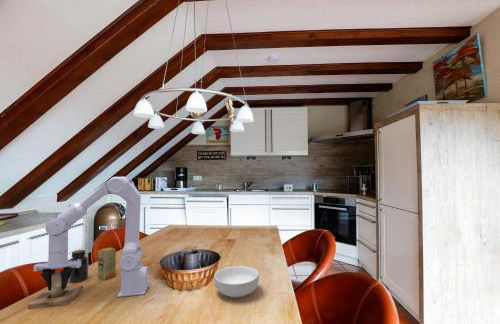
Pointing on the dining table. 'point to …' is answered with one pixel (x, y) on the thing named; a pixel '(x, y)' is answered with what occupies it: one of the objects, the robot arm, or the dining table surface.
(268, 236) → the dining table surface
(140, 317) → the dining table surface
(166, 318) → the dining table surface
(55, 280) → the peg
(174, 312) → the dining table surface
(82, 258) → the supplement bottle
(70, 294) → the socket block
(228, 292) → the cereal bowl
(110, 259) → the shoe polish box
